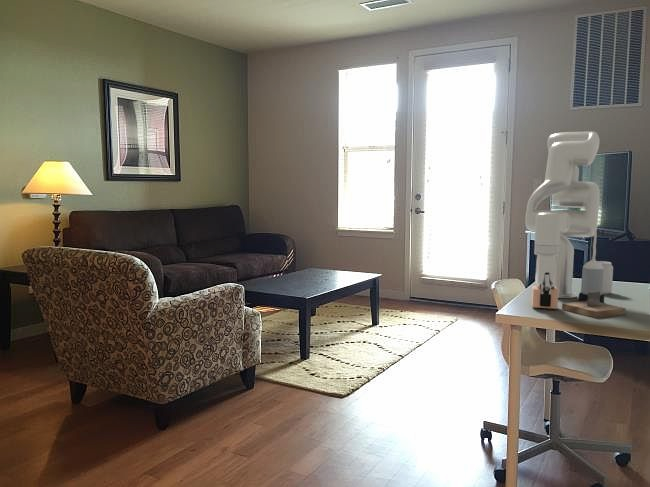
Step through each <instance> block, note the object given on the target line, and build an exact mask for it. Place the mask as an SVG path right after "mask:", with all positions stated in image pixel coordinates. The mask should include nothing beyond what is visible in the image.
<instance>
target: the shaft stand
mask: <svg viewBox="0 0 650 487" xmlns="http://www.w3.org/2000/svg"><path fill="white" fill-rule="evenodd" d="M561 304H562V305H561V309H562V310H563V311H567V312H571V313H575V314H578V315H581V316H582V315H583V316H587V317H590V318H595V319H600V318H607V317H609V318H610V317H615V316H616V317H617V316H623V315H624V316H625V315H626V307H621V306H617V305H614V304H613V305H612V304H608V303H605V302H604V303H600V291H591V292H588V301H581V302H578V301H572V302H571V301H570V302H565V303H563V302H562V303H561Z"/></svg>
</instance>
